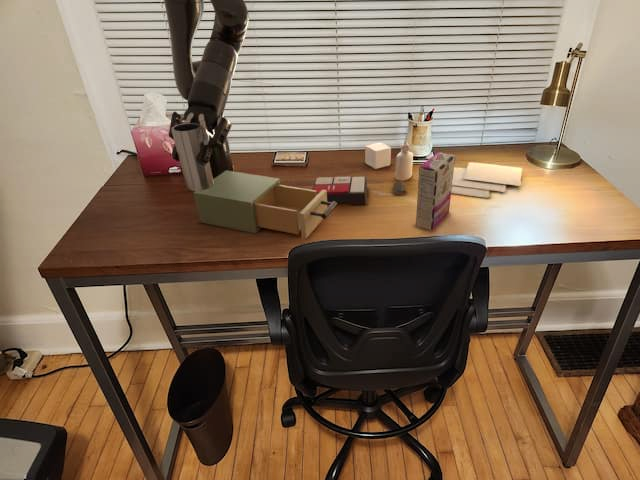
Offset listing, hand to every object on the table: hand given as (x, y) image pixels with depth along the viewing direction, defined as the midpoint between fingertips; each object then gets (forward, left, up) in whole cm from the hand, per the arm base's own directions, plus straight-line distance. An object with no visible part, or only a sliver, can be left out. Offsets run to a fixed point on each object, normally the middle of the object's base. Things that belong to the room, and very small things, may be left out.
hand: (189, 161), depth 93 cm
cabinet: (-1, +16, -21) cm, 26 cm away
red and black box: (+20, +35, -21) cm, 45 cm away
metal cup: (0, +2, -6) cm, 6 cm away
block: (+35, +44, -21) cm, 60 cm away
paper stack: (+56, +59, -21) cm, 84 cm away
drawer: (+16, +16, -20) cm, 30 cm away
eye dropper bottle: (+34, +53, -21) cm, 66 cm away
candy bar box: (+48, +30, -21) cm, 60 cm away
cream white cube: (+23, +61, -21) cm, 68 cm away
